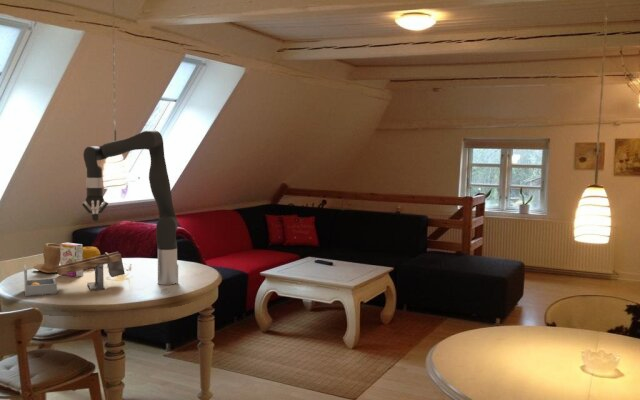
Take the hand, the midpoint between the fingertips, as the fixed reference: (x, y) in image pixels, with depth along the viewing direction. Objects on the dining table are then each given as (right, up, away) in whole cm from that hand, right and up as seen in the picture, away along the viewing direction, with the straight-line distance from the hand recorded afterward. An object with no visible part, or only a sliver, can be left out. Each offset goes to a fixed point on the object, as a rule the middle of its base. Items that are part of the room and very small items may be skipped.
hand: (95, 221), depth 292 cm
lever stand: (+6, -31, -15) cm, 35 cm away
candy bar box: (-15, -28, +8) cm, 33 cm away
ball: (-16, -29, -28) cm, 43 cm away
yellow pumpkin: (-15, -27, +29) cm, 42 cm away
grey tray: (-15, -31, -27) cm, 43 cm away
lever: (+4, -27, -13) cm, 30 cm away
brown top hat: (-30, -27, +16) cm, 44 cm away
